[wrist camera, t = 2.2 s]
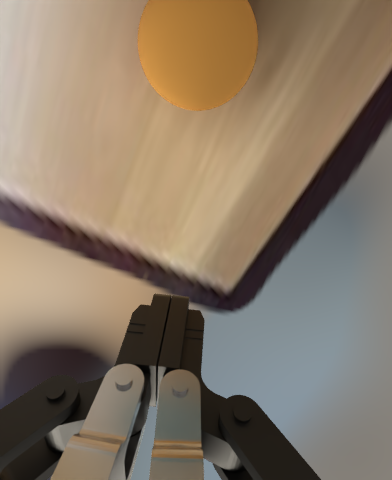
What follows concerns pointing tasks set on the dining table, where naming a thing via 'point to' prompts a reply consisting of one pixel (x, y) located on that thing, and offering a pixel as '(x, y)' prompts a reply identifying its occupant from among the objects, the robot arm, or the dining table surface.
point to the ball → (197, 50)
